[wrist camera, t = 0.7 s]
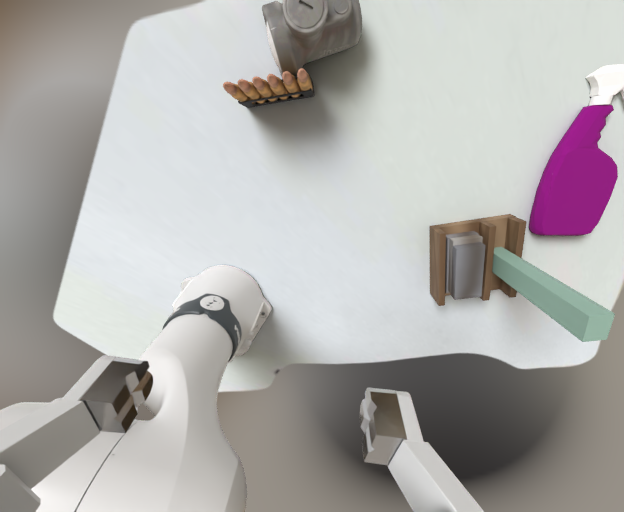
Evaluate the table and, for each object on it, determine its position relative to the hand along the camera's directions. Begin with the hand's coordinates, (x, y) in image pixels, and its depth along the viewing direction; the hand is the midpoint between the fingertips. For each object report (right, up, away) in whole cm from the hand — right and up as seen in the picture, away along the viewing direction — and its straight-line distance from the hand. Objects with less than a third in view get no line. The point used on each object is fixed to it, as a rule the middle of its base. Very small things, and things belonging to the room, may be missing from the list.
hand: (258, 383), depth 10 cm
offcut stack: (+29, +4, +39) cm, 48 cm away
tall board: (+35, +5, +38) cm, 51 cm away
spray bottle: (+45, +21, +33) cm, 59 cm away
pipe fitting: (+2, +35, +28) cm, 45 cm away
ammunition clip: (-3, +29, +31) cm, 43 cm away
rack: (+30, +5, +40) cm, 50 cm away
